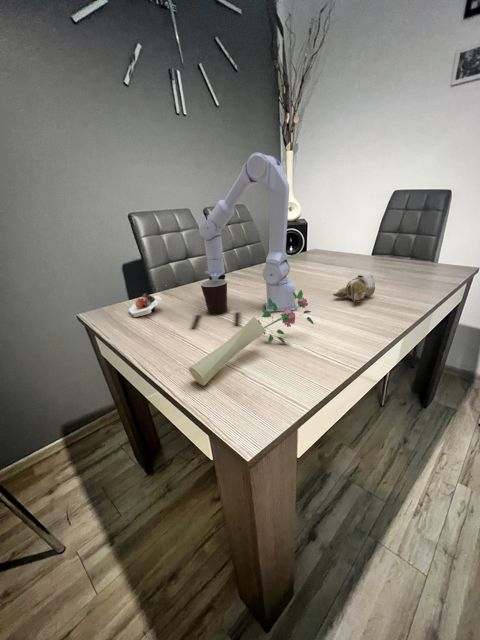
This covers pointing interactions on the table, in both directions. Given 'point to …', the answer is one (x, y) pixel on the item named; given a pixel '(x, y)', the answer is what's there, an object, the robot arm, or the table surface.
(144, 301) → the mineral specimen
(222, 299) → the coffee mug
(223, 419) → the table surface
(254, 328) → the flower vase
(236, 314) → the guide strips
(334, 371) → the table surface
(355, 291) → the ceramic sculpture
